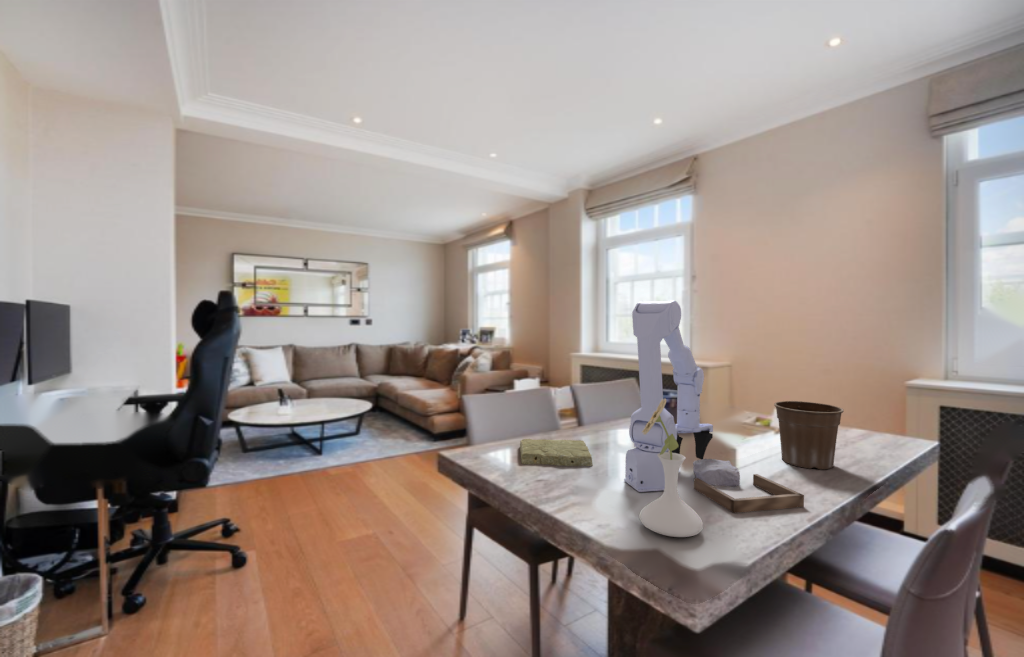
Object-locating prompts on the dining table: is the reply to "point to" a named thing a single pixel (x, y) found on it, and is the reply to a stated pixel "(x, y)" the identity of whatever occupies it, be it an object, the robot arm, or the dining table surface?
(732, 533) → the dining table surface
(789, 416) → the plant pot
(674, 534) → the flower in vase
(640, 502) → the dining table surface
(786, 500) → the walnut corral
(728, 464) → the stone block
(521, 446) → the decorative tile
